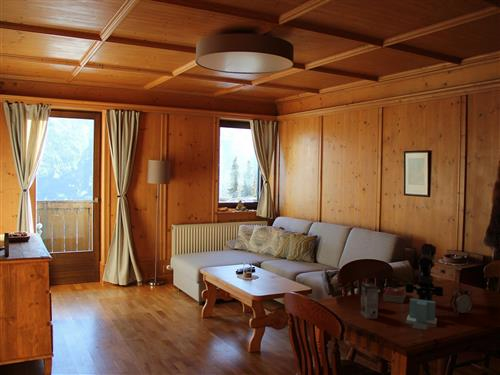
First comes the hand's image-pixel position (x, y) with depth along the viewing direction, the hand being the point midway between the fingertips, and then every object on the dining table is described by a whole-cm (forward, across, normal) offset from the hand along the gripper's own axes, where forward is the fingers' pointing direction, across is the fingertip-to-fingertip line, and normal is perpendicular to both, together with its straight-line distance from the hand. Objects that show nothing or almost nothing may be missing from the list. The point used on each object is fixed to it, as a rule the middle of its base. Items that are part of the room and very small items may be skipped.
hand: (423, 303), depth 243 cm
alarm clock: (-6, +18, +15) cm, 25 cm away
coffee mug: (+2, -27, +7) cm, 28 cm away
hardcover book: (-17, -17, +27) cm, 36 cm away
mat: (+13, 0, -4) cm, 14 cm away
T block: (+10, 0, -1) cm, 10 cm away
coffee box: (+13, -26, -4) cm, 29 cm away
